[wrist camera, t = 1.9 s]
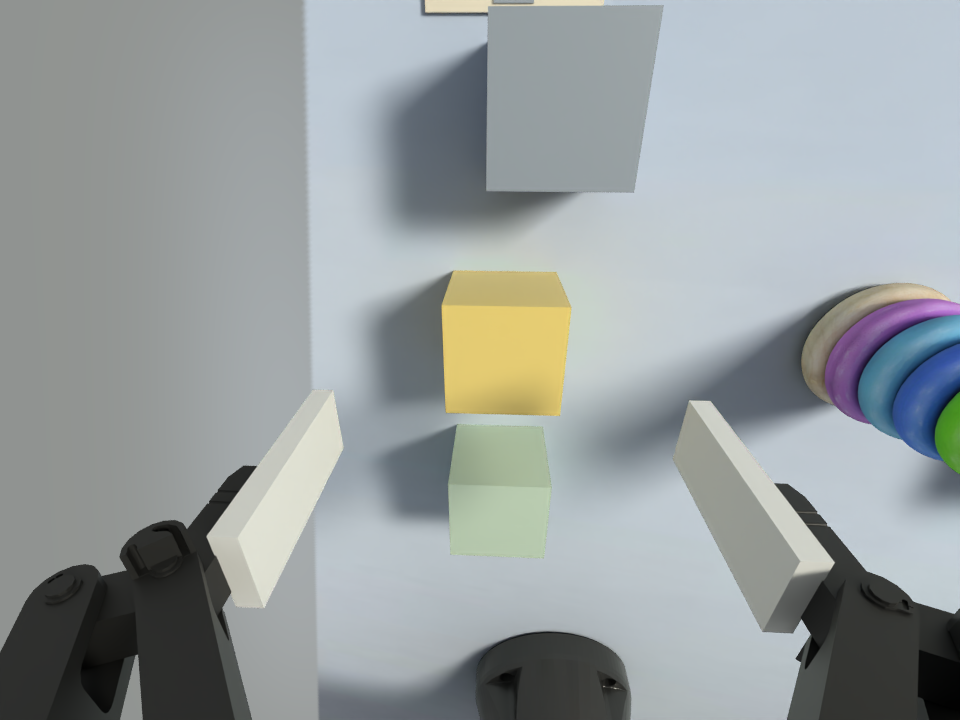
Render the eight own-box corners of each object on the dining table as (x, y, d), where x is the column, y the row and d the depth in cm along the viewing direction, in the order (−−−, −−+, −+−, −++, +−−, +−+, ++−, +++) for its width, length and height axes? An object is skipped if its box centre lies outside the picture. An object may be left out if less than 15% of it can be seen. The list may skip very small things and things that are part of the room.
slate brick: (602, 179, 23) (633, 192, 18) (489, 178, 23) (485, 190, 18) (620, 40, 20) (663, 5, 15) (491, 40, 20) (487, 6, 15)
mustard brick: (548, 362, 28) (559, 415, 23) (455, 360, 28) (445, 413, 23) (556, 271, 25) (571, 307, 20) (453, 270, 25) (441, 305, 20)
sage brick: (536, 490, 33) (543, 558, 28) (458, 487, 33) (450, 554, 28) (542, 426, 30) (551, 487, 25) (457, 423, 30) (447, 484, 25)
